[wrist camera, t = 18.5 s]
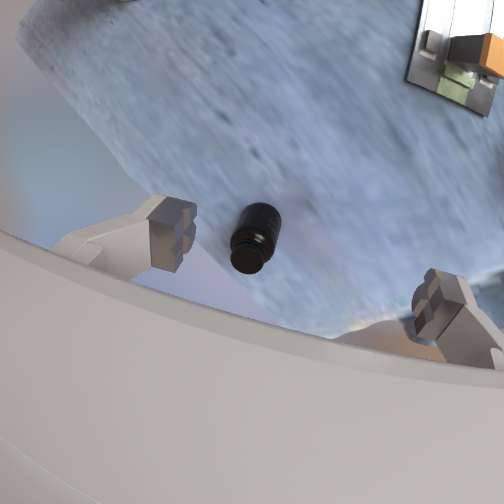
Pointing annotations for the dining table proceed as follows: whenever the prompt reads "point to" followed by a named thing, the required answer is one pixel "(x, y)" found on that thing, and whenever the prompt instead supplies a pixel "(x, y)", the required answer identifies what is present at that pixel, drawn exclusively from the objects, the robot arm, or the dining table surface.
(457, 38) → the breaker handle
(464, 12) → the breaker panel
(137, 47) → the dining table surface
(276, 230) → the supplement bottle
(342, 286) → the dining table surface
